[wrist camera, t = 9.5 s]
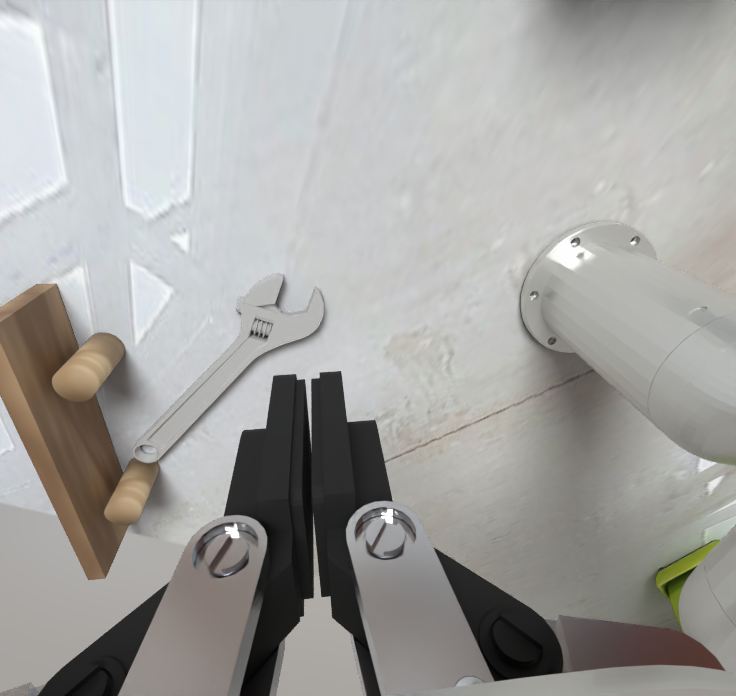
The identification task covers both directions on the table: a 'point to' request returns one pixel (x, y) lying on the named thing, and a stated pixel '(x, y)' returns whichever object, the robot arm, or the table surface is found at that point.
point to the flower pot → (680, 575)
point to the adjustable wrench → (234, 359)
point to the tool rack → (69, 424)
